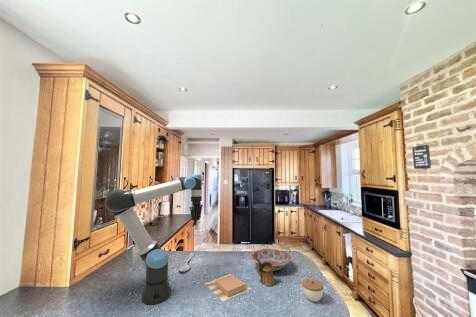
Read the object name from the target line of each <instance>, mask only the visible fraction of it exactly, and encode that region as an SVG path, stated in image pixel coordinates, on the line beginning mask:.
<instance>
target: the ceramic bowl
mask: <svg viewBox="0 0 476 317" xmlns="http://www.w3.org/2000/svg"><path fill="white" fill-rule="evenodd" d="M253 254H254V255H255V256H256V257H257V258H258V260H259V261H260V262H261V263H264V262H270V263H271V264H272V267H273V272H275V271H276V272H277V271H280V270H282V269H284V268H285V267H286V266H287V264H289V263H290V262H291V260H292V257H291V255H290V254H289V253H287V252H286V251H283V250H280V249H274V248H262V249H257V250H255V251H253V252H252V253H251V254H250V259H251V260H252V261H254V263H255V264H256V266H257V265H258V261H257V260H256V259H255V257H254V256H253ZM260 269H261V267H260Z"/></svg>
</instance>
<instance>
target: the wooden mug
mask: <svg viewBox="0 0 476 317" xmlns="http://www.w3.org/2000/svg"><path fill="white" fill-rule="evenodd" d="M253 256H254V257H255V259H256V260H257V261H258V265H257V264H256V271H257V274H258V275H259V277H260V279H259V282H260V284H262V285H264V286H265V287H273V286H274V285H275V277H274V271H273V267H272V264H271V263H270V262H264V263H261V262H260V261H259V260H258V258H257V257H256V256H255V255H254V254H253ZM260 267H261V268H260Z"/></svg>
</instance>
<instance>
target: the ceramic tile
mask: <svg viewBox="0 0 476 317" xmlns="http://www.w3.org/2000/svg"><path fill="white" fill-rule="evenodd" d="M230 274H231V275H229V274H228V275H229V276H226V275H225V276H226V277H223V276H222V277H223V278H221V279H218V278H217V279H218V280H215V279H214V280H215V286H216V287H217V288H218V289H219V290H221V291H222V292H223V293H224V294H225V295H226V296H227V297H230V296H232V295H234V294H237V293H239V292H241V291H243V290H245V284H246V283H245V282H244V281H242V280H241V281H240V278H238V277H236V276H235V275H233V274H232V273H230ZM237 278H238V279H237ZM243 282H244V283H243Z"/></svg>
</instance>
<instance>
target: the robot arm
mask: <svg viewBox="0 0 476 317" xmlns="http://www.w3.org/2000/svg"><path fill="white" fill-rule="evenodd" d="M190 175H191V176H178V177H177V176H176V177H174V178H173V180H171V181H166V182H164V183H159V184H155V185H151V186H147V187H142V188H139V189H136V190H135V189H126V190H124V189H121V188H120V189H119V188H117V189H113V190H111V191H110V192H109V193H108V194H107V195H106V197H105V199H104V205H105V208H106V209H107V210H108V211H110V212H111V214H112V215H113V216H114V217H115V218H118V219H119V220H120V221H121V223H122V224H121V225H123V227H124V228H125V230H126V231H127V233H128V235H129V236H130V238H131V239H132V241H133V242H134V244H135V245H136V247H137V249H138V253H137V254H138V256H139V258H140V259H141V261H142V262H143V263H144V267H145V284H144V288H143V292H142V293H141V302H142V303H143V304H145V305H153V306H154V305H157V304H160V303H163V302H164V301H166V300H168V299H169V298H170V296H171V294H172V290H171V289H172V288H171V286H170V282H169V260H170V259H169V252H168V251H167V250H165V249H162V248H161V247H160V245H159V243H158V242H157V240H154V239H152V236H150V233H149V232H148V231H147V229H146V228H145V226H144V224H143V222H142V221H141V219H140V217H139V216H138V214H137V213H136V211H135V209H134V207H136V206H137V205H138V204H141V203H144V202H148V201H151V200H155V199H159V198H161V197H166V196H168V195H173V194H175V193H179V192H183V191H186V190H190V195H191V196H190V202H191V206H189V211H190V218H191V221H193V230H194V231H198V230H199V221H200V220H201V217H202V209H203V204H201V203H202V200H203V199H202V198H203V197H202V195H203V194H202V193H203V189H202V187H203V185H202V184H203V183H202V182H203V178H202V174H199V173H196V174H194V173H193V174H190Z"/></svg>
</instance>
